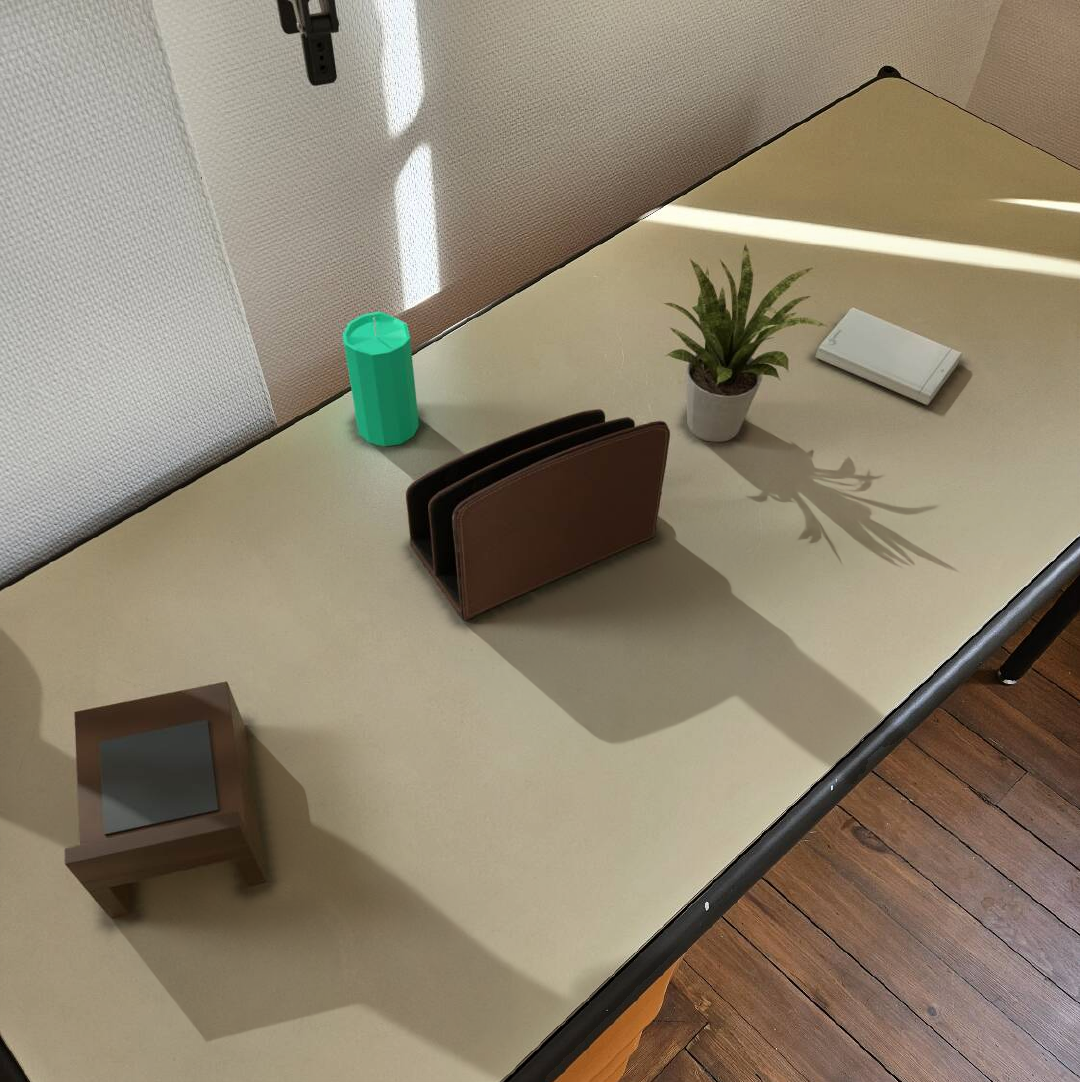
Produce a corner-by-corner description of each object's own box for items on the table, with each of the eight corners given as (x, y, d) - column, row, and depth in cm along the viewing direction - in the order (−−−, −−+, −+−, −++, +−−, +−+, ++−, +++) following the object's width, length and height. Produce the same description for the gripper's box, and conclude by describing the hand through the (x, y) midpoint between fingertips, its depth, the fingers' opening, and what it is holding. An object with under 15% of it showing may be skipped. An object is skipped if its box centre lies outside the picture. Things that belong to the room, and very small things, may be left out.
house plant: (820, 406, 105) (866, 256, 91) (771, 494, 98) (813, 347, 85) (687, 360, 108) (713, 210, 95) (631, 443, 102) (650, 294, 88)
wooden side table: (101, 753, 82) (59, 688, 74) (244, 724, 84) (217, 657, 76) (110, 918, 75) (64, 864, 67) (266, 882, 76) (239, 825, 69)
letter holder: (657, 537, 95) (677, 415, 83) (463, 624, 89) (455, 506, 78) (597, 468, 100) (609, 343, 88) (409, 547, 94) (394, 424, 82)
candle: (394, 455, 100) (381, 349, 90) (344, 431, 102) (325, 324, 92) (431, 418, 103) (421, 311, 93) (381, 395, 105) (366, 288, 95)
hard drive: (818, 346, 108) (931, 394, 104) (853, 305, 111) (964, 350, 108) (814, 359, 109) (926, 407, 105) (849, 318, 113) (958, 363, 109)
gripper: (192, -232, 74) (242, 23, 87) (236, -155, 67) (284, 109, 80) (297, -243, 75) (331, 9, 89) (352, -169, 68) (379, 92, 82)
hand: (309, 56), depth 85 cm, fingers open, 8 cm apart
